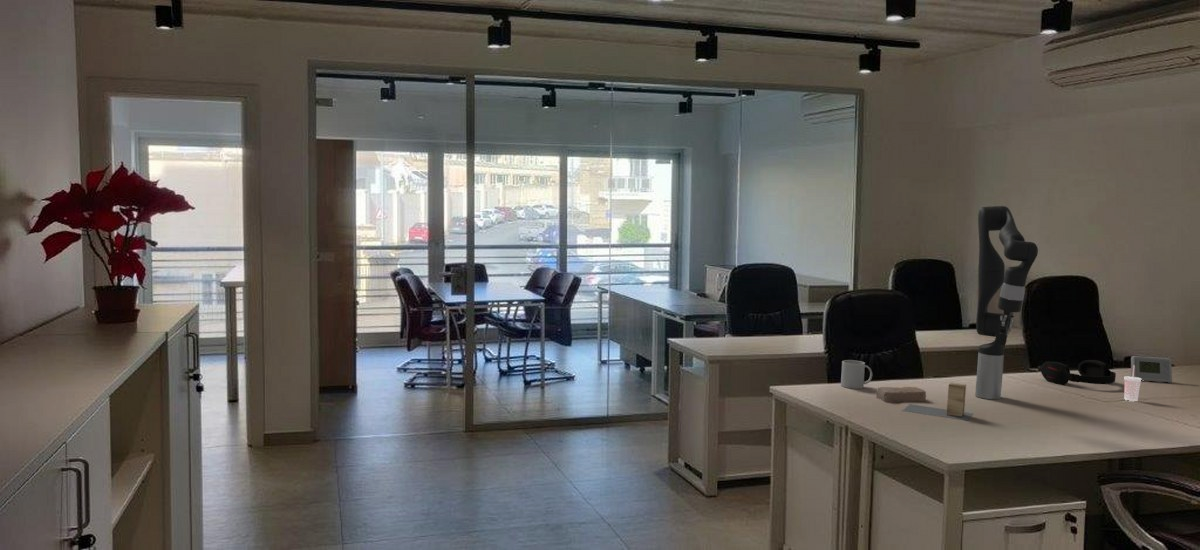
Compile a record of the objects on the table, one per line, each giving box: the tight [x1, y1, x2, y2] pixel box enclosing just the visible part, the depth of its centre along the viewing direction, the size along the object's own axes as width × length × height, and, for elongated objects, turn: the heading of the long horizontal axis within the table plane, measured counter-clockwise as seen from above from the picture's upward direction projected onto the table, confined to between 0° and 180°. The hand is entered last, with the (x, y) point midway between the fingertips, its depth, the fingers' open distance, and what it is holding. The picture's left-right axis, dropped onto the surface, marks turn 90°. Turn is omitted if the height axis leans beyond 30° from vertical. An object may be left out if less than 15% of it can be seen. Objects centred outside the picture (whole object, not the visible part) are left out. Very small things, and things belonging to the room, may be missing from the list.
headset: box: [1040, 359, 1117, 386], centre depth 383 cm, size 30×28×9 cm
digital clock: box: [1130, 355, 1173, 384], centre depth 391 cm, size 16×9×11 cm, turn 65°
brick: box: [875, 386, 927, 403], centre depth 337 cm, size 17×8×5 cm, turn 96°
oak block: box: [946, 381, 967, 417], centre depth 313 cm, size 5×5×11 cm
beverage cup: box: [1123, 365, 1142, 402], centre depth 349 cm, size 6×6×14 cm
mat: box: [901, 403, 974, 422], centre depth 317 cm, size 13×22×1 cm, turn 59°
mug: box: [840, 359, 873, 390], centre depth 357 cm, size 11×10×10 cm
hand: (1001, 344), depth 313 cm, fingers closed
